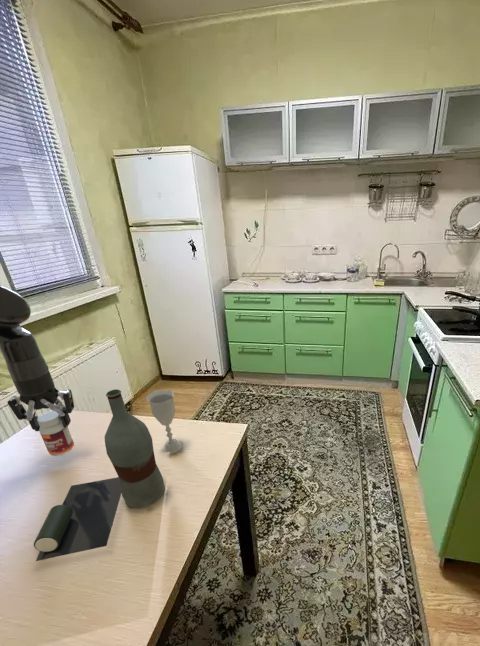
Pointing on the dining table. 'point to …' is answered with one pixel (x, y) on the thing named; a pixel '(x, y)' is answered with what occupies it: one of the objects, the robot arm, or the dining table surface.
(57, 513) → the sushi roll
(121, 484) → the vodka
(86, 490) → the slate board
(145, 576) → the dining table surface
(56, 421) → the pill bottle
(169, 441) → the chalice
